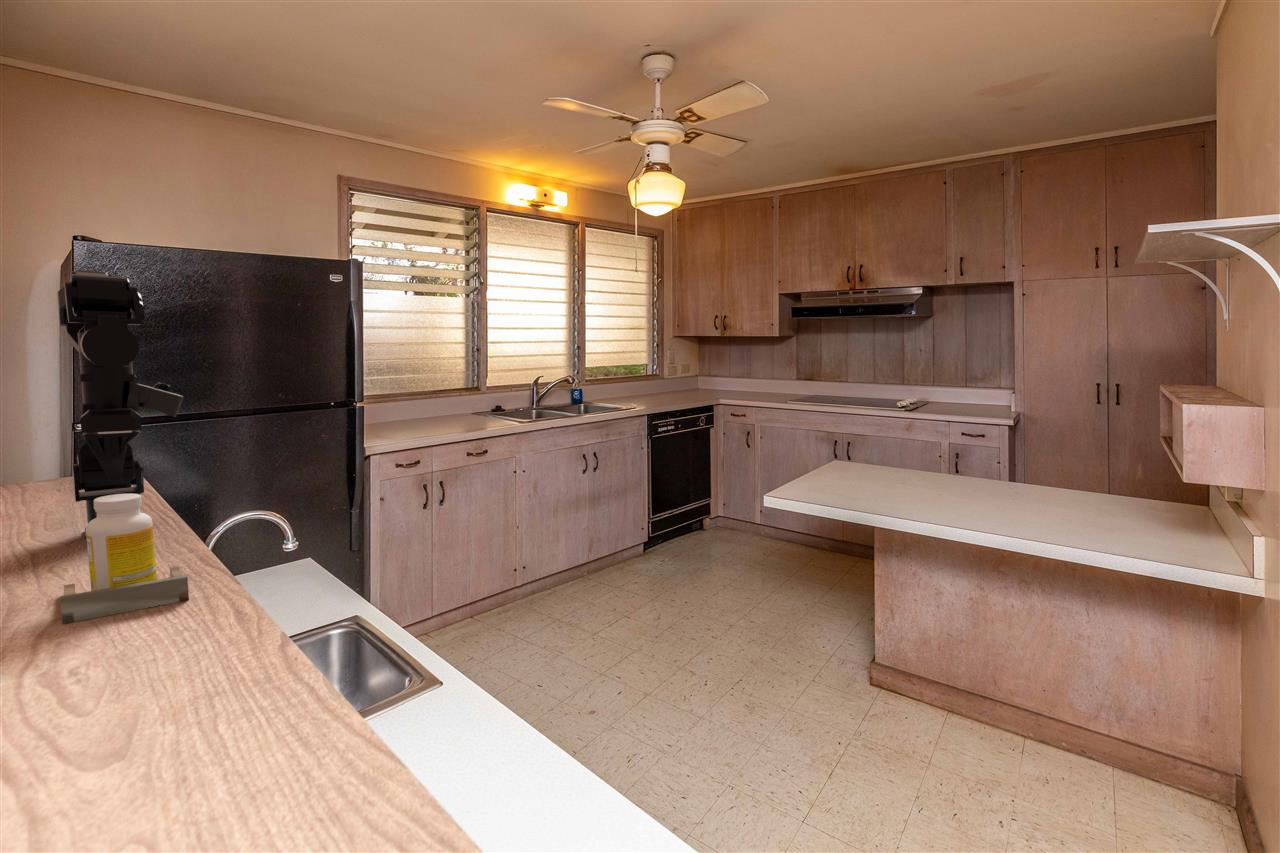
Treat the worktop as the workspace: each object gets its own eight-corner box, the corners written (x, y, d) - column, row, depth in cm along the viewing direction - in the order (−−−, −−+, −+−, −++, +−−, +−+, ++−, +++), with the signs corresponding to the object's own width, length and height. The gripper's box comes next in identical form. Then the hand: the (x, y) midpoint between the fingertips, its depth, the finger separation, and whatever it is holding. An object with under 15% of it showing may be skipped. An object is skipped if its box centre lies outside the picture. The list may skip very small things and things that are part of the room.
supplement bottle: (171, 587, 86) (164, 492, 85) (126, 607, 80) (118, 504, 78) (124, 584, 87) (117, 490, 85) (77, 603, 81) (68, 502, 79)
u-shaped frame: (65, 594, 83) (63, 571, 83) (179, 574, 91) (178, 554, 91) (62, 624, 75) (60, 599, 74) (188, 599, 82) (187, 577, 82)
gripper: (183, 368, 90) (189, 480, 91) (171, 364, 104) (177, 461, 106) (76, 368, 82) (85, 489, 84) (79, 364, 97) (87, 468, 99)
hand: (114, 475), depth 93 cm, fingers open, 9 cm apart
